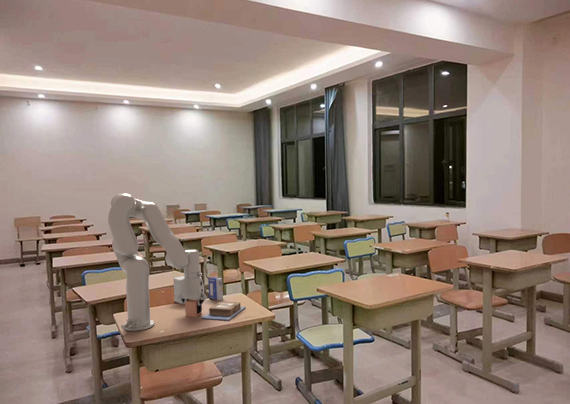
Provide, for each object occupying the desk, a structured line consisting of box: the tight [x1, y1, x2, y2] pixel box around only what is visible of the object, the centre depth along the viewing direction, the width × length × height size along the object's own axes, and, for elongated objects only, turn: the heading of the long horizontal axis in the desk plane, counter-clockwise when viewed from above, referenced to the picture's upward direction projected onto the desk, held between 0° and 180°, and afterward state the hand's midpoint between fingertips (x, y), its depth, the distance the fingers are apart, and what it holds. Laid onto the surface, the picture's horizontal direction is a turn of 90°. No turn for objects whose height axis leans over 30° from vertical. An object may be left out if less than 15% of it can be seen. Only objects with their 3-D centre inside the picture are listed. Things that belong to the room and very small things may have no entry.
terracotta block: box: [184, 299, 203, 318], centre depth 197 cm, size 6×6×7 cm
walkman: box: [207, 276, 224, 301], centre depth 224 cm, size 8×3×12 cm, turn 58°
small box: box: [173, 275, 184, 305], centre depth 221 cm, size 8×6×13 cm
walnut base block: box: [208, 300, 242, 316], centre depth 198 cm, size 12×11×3 cm
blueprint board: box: [201, 306, 246, 322], centre depth 197 cm, size 20×14×1 cm
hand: (193, 312), depth 197 cm, fingers closed on terracotta block, 5 cm apart
